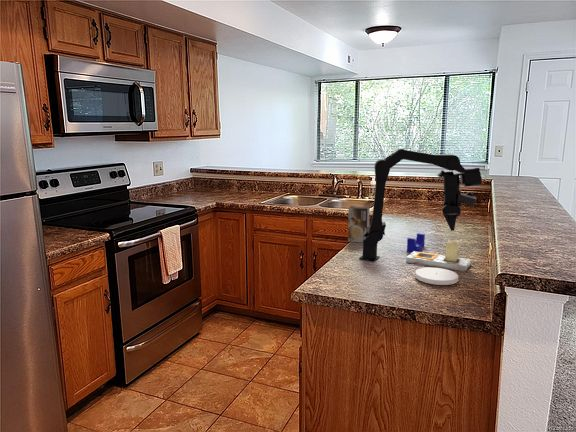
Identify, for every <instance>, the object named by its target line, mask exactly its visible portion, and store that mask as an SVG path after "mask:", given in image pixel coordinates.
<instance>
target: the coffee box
mask: <svg viewBox="0 0 576 432" xmlns="http://www.w3.org/2000/svg"><path fill="white" fill-rule="evenodd" d="M347 215H348V217H347V218H348V223H347V224H348V227H347V234H348V235H347V236H348V237H347V241H348V242H351V243H352V242H353V243H362V244H363V235H365V234H366V233H367V232H368V229H369V225H370V206H362V205H350V206H349V207H348V214H347Z"/></svg>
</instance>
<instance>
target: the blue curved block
mask: <svg viewBox="0 0 576 432" xmlns="http://www.w3.org/2000/svg"><path fill="white" fill-rule="evenodd" d="M425 237H426V233H425V234H424V233H419V232H418V233H416V238H414V237H407V240H406V241H407V243H406V252H408V253H412V252H413V251H416V252H422V251H423V248H424V247H425V239H426V238H425Z"/></svg>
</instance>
